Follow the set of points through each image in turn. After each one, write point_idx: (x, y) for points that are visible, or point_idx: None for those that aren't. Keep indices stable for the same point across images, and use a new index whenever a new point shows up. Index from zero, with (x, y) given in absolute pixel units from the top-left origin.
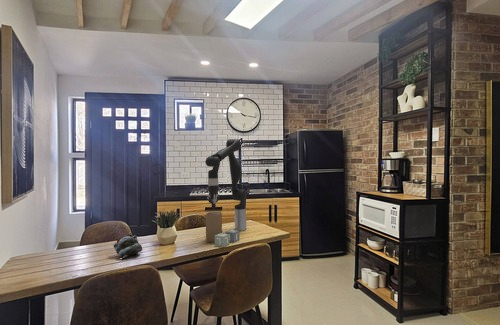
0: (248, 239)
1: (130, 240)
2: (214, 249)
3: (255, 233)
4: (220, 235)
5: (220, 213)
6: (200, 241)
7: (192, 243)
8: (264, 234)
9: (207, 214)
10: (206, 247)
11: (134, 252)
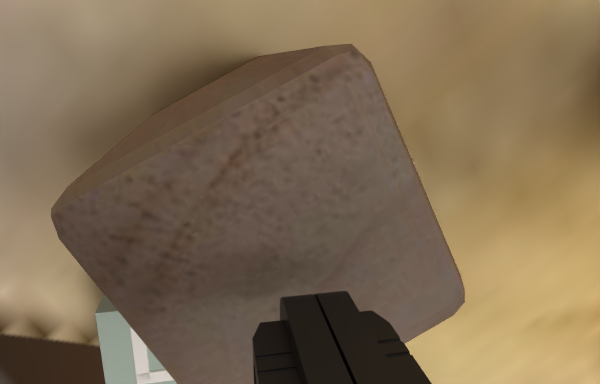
0: (409, 350)
1: None
2: (33, 334)
3: (580, 285)
4: (133, 360)
5: None
6: (139, 39)
7: (25, 14)
8: (571, 352)
9: (74, 255)
10: (26, 241)
11: None
